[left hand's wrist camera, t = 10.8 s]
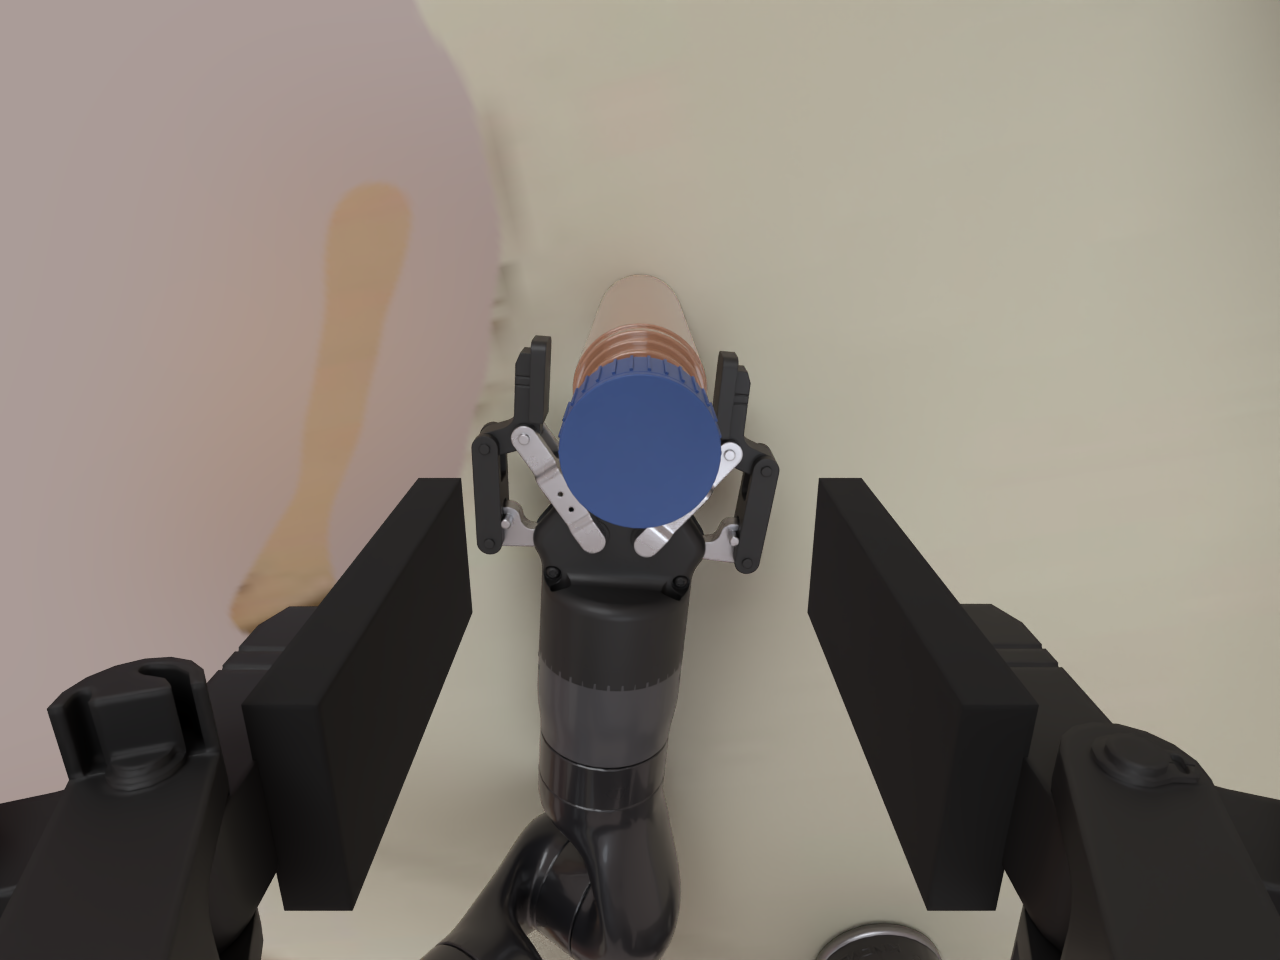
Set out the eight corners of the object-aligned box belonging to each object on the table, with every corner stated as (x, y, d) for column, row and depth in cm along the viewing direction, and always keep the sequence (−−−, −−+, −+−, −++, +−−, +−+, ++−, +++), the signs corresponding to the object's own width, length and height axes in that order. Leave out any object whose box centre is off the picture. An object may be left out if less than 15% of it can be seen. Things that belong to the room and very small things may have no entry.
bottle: (635, 375, 42) (629, 560, 21) (580, 312, 41) (516, 439, 20) (698, 322, 41) (762, 459, 20) (645, 256, 40) (651, 325, 19)
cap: (631, 527, 22) (630, 561, 20) (532, 420, 21) (521, 444, 19) (746, 438, 21) (757, 463, 19) (649, 321, 20) (650, 336, 18)
